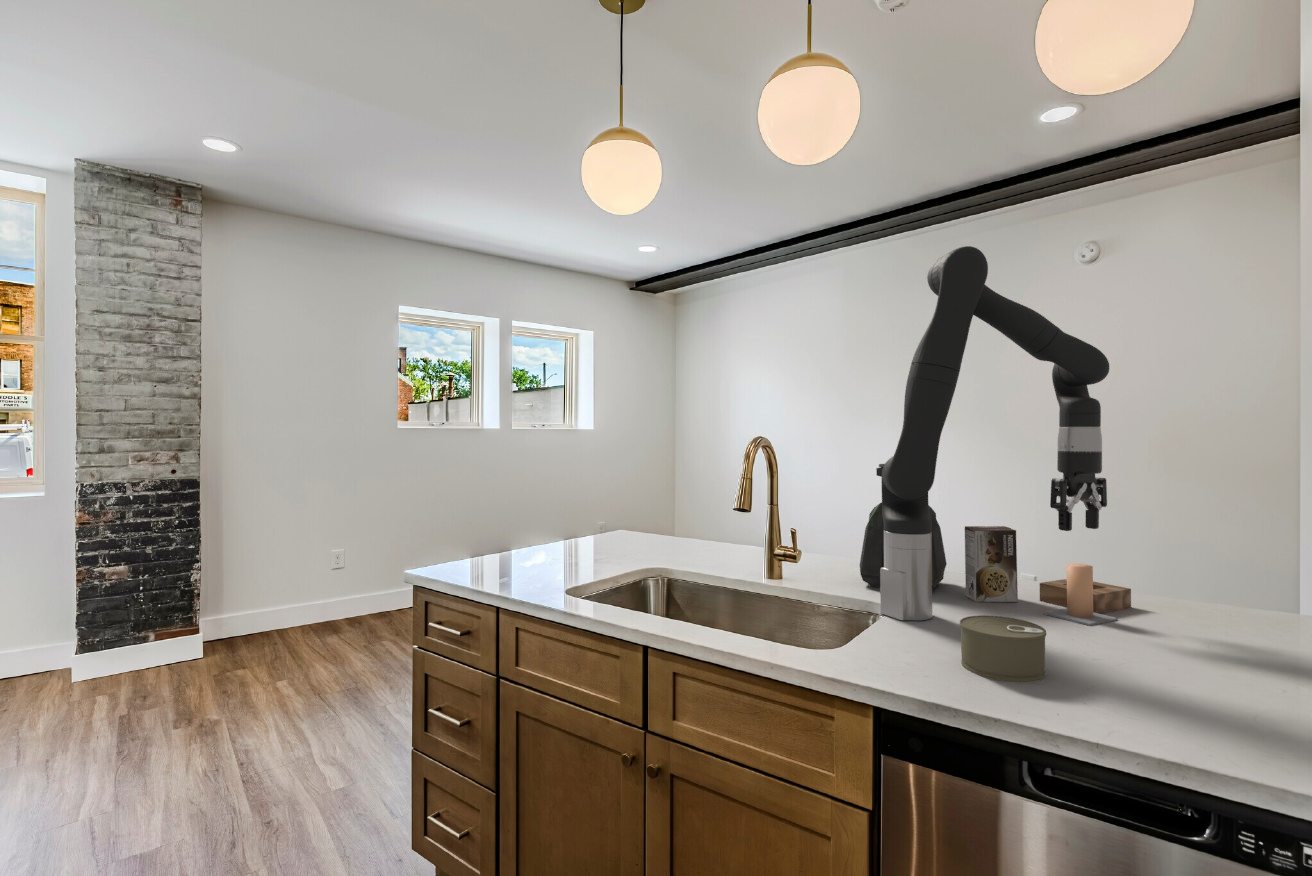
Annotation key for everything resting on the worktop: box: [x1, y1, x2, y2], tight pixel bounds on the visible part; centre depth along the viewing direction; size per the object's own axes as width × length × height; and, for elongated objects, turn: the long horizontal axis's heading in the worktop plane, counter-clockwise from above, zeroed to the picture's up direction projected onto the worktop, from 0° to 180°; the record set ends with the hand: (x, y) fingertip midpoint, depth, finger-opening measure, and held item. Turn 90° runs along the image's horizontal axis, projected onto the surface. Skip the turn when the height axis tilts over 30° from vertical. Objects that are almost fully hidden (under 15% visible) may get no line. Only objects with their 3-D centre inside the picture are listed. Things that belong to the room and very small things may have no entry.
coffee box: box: [964, 525, 1019, 603], centre depth 144 cm, size 9×6×16 cm
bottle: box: [859, 463, 948, 590], centre depth 158 cm, size 18×16×30 cm
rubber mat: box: [1043, 607, 1118, 627], centre depth 129 cm, size 9×9×1 cm
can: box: [959, 614, 1047, 683], centre depth 100 cm, size 12×12×7 cm
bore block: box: [1039, 578, 1132, 614], centre depth 139 cm, size 12×12×4 cm
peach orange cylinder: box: [1066, 563, 1094, 618], centre depth 129 cm, size 4×4×10 cm
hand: (1078, 529), depth 129 cm, fingers open, 8 cm apart
